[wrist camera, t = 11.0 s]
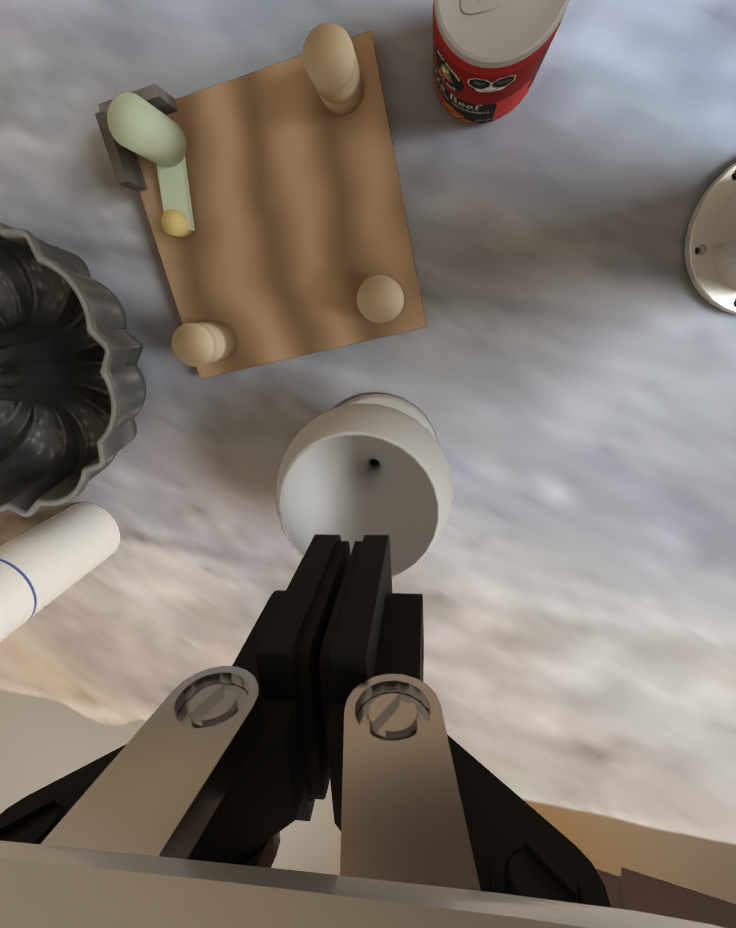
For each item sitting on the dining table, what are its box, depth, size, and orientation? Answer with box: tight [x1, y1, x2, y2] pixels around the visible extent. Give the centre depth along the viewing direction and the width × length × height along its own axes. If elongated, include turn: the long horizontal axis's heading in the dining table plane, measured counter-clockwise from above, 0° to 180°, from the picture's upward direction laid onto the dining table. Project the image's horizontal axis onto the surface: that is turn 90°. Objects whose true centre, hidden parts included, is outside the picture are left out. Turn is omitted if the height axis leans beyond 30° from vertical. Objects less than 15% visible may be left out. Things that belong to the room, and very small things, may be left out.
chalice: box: [276, 393, 453, 577], centre depth 42 cm, size 14×14×15 cm
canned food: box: [433, 0, 569, 123], centre depth 33 cm, size 8×8×11 cm
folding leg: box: [107, 92, 195, 238], centre depth 38 cm, size 9×4×6 cm, turn 2°
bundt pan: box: [0, 223, 146, 517], centre depth 45 cm, size 26×26×10 cm
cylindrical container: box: [0, 503, 120, 641], centre depth 44 cm, size 7×7×25 cm
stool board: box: [95, 23, 426, 379], centre depth 40 cm, size 22×22×8 cm
